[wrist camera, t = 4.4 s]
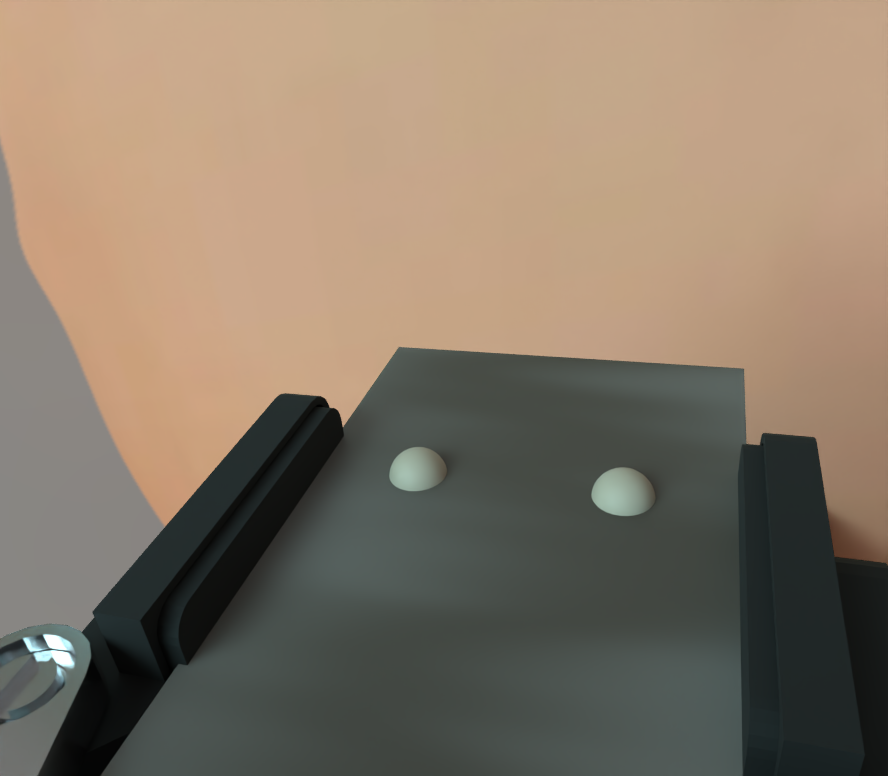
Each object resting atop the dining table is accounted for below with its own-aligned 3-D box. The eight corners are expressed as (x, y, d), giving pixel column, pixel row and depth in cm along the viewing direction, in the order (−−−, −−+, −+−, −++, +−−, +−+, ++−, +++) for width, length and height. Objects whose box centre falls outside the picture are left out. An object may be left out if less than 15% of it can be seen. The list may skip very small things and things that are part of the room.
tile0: (745, 349, 11) (800, 1765, 3) (731, 474, 12) (739, 1753, 4) (396, 330, 12) (-247, 1214, 4) (411, 442, 13) (-76, 1318, 5)
